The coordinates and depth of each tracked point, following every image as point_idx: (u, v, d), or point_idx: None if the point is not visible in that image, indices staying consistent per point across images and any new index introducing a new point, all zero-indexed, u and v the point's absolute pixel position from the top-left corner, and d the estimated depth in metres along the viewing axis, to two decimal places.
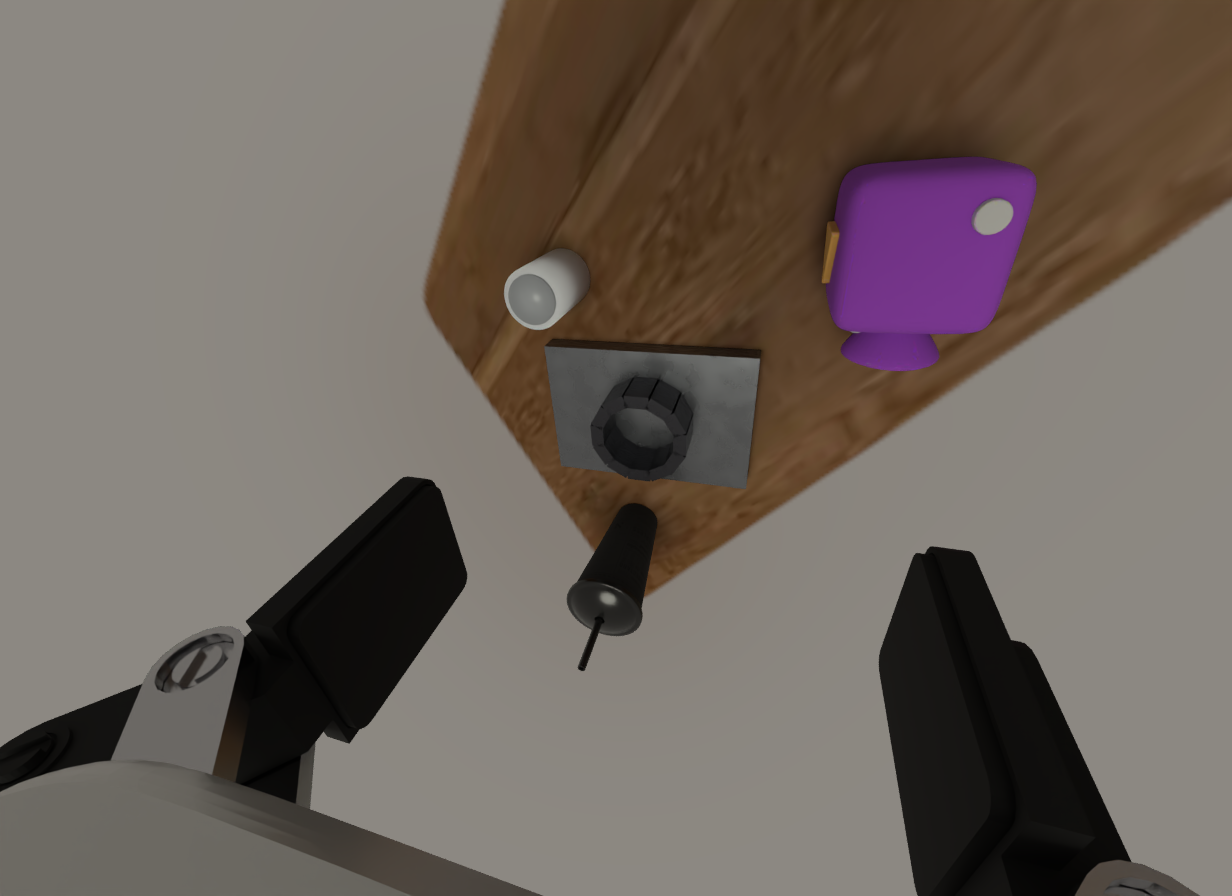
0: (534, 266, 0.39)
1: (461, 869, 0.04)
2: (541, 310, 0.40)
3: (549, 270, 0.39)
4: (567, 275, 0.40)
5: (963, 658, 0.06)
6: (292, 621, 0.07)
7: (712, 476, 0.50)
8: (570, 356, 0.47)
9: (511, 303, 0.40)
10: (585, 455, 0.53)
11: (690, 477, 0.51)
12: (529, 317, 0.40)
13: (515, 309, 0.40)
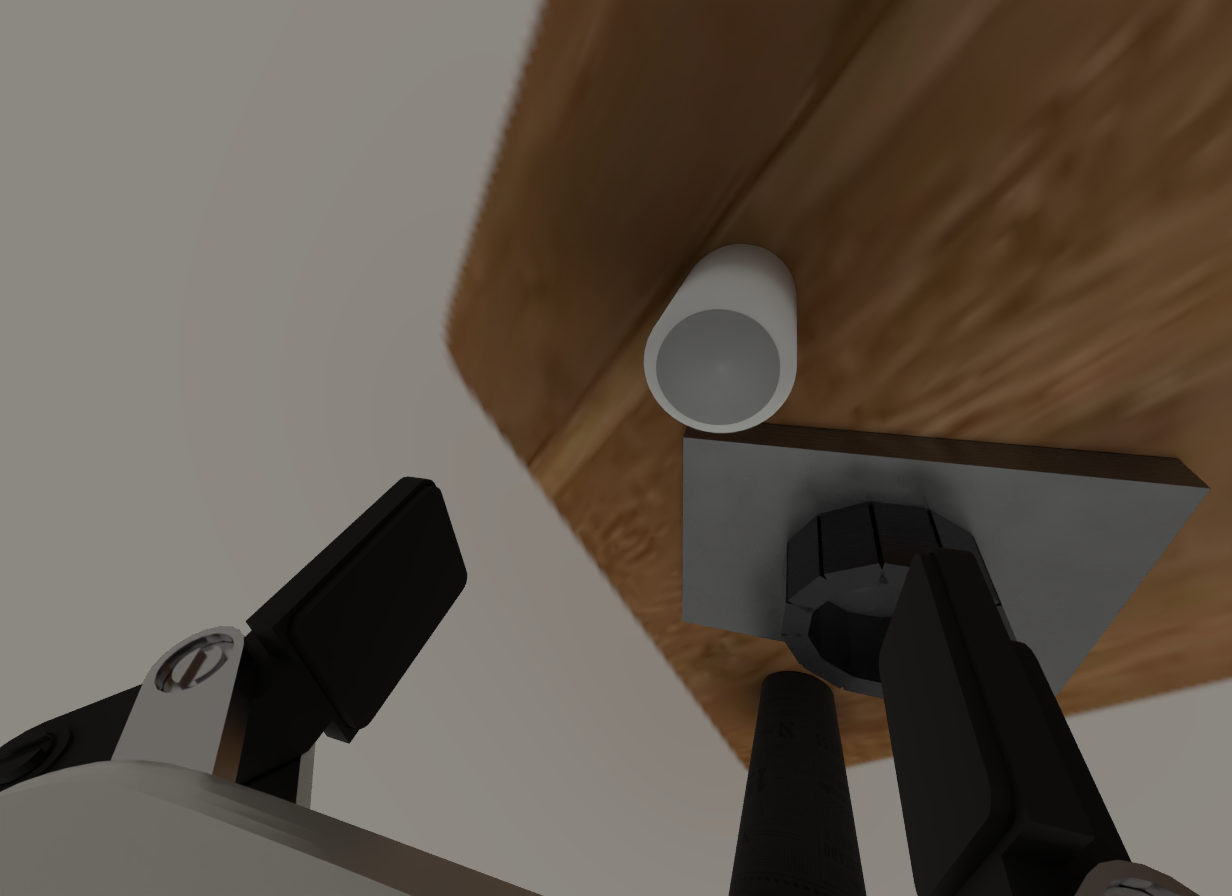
0: (733, 290, 0.15)
1: (461, 867, 0.04)
2: (738, 394, 0.16)
3: (767, 298, 0.16)
4: (790, 307, 0.17)
5: (963, 658, 0.06)
6: (292, 621, 0.07)
7: None
8: (736, 457, 0.24)
9: (661, 376, 0.17)
10: (732, 613, 0.30)
11: None
12: (702, 408, 0.17)
13: (670, 389, 0.17)
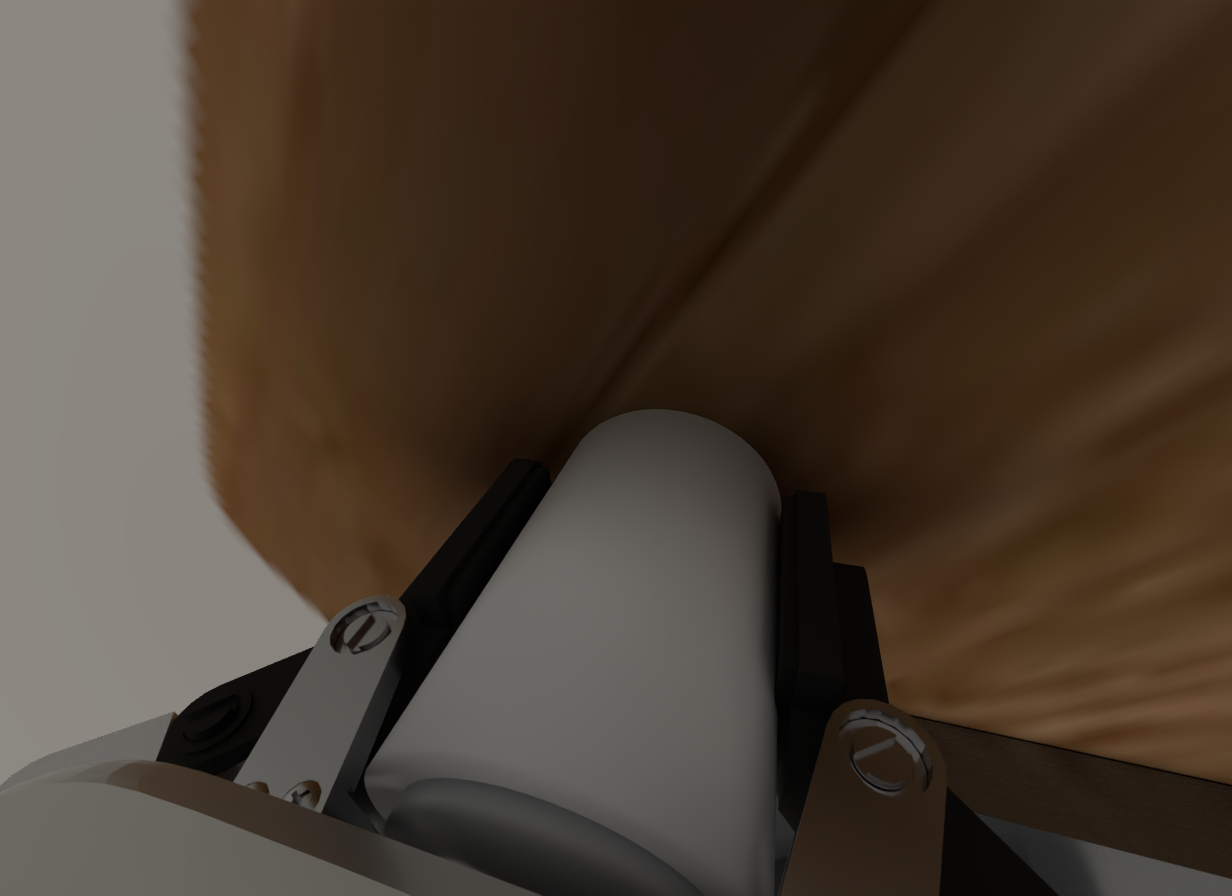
0: (567, 731, 0.05)
1: (462, 867, 0.04)
2: None
3: (683, 732, 0.05)
4: (759, 655, 0.07)
5: (792, 569, 0.08)
6: (449, 590, 0.08)
7: None
8: None
9: None
10: None
11: None
12: None
13: None
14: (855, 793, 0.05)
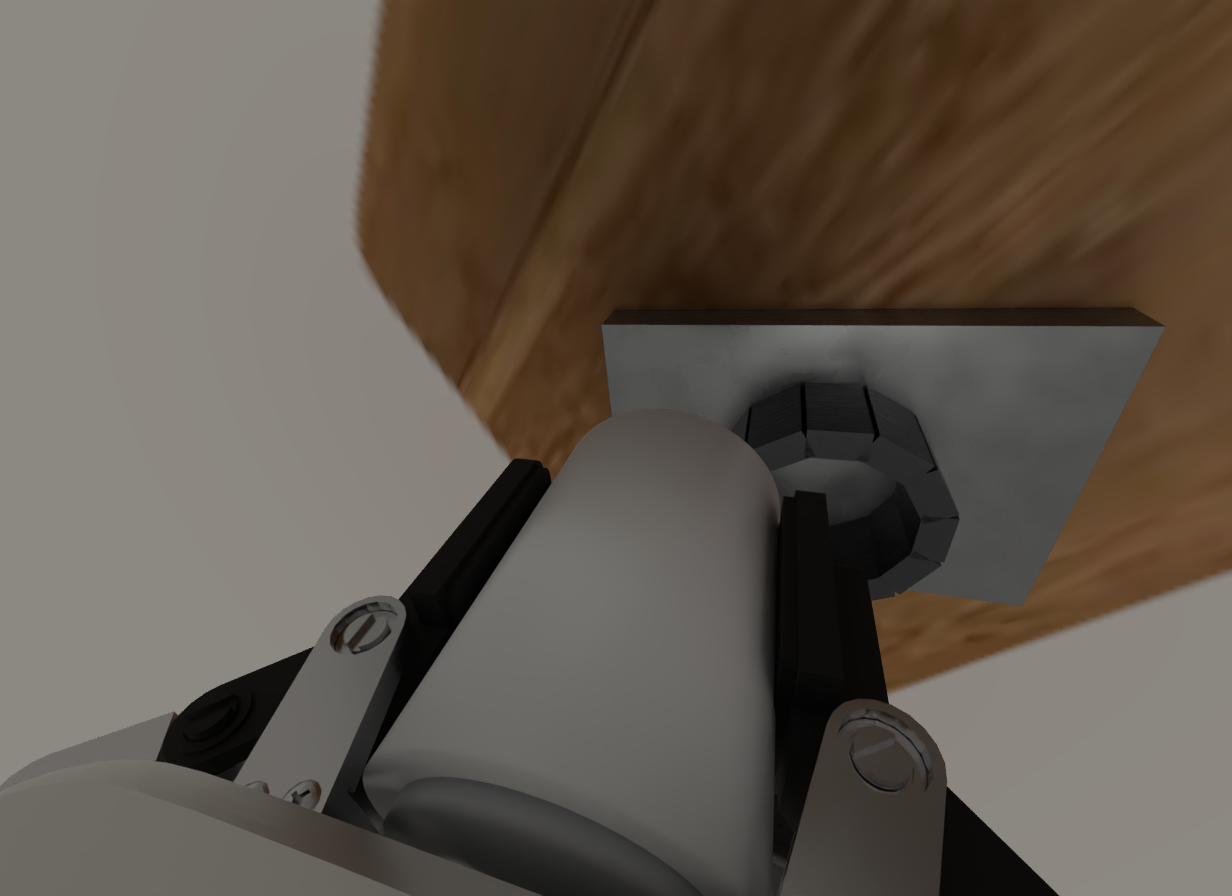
0: (565, 730, 0.05)
1: (461, 867, 0.04)
2: None
3: (680, 731, 0.05)
4: (757, 654, 0.07)
5: (792, 569, 0.08)
6: (449, 590, 0.08)
7: (948, 580, 0.24)
8: (658, 343, 0.22)
9: None
10: None
11: None
12: None
13: None
14: (855, 793, 0.05)
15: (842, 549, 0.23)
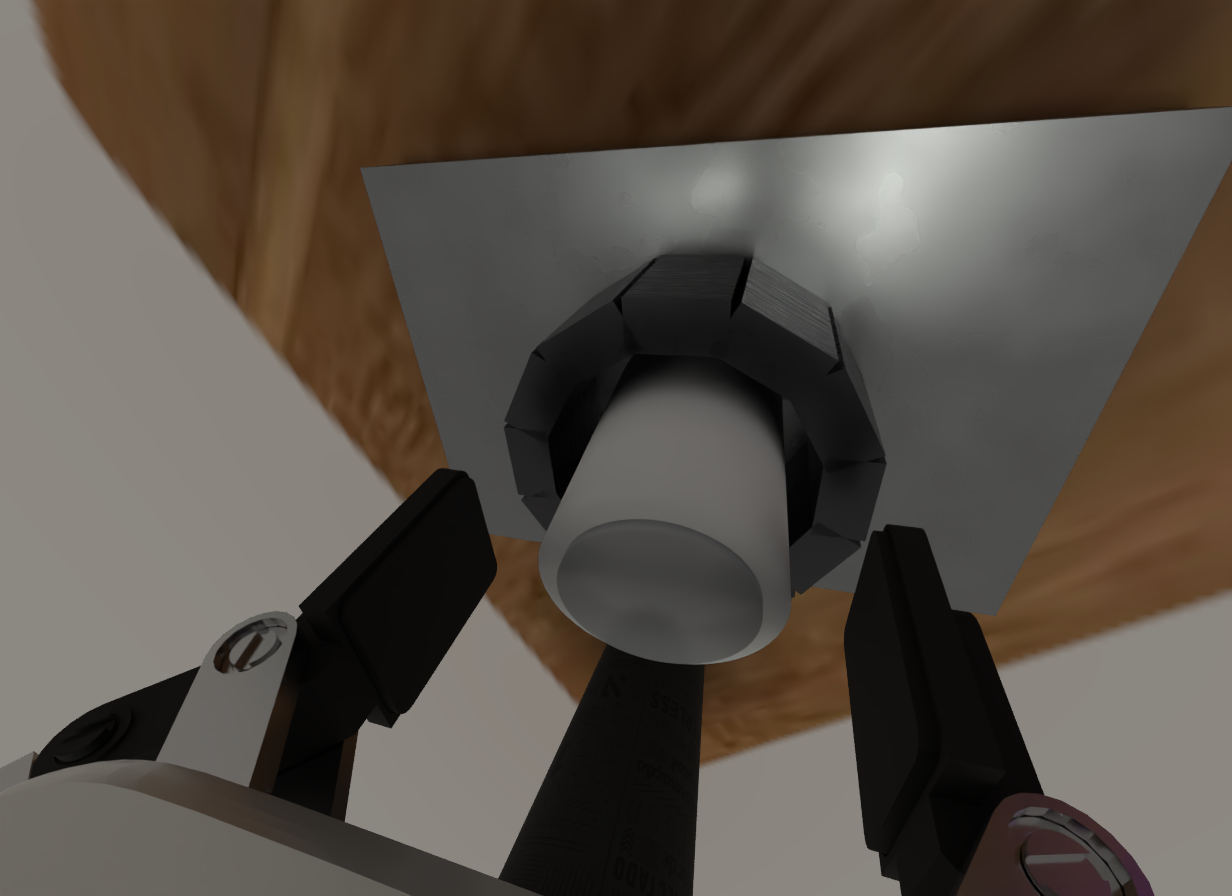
0: (669, 483, 0.09)
1: (461, 869, 0.04)
2: (696, 633, 0.10)
3: (732, 486, 0.09)
4: (773, 465, 0.10)
5: (906, 622, 0.07)
6: (343, 606, 0.08)
7: None
8: (444, 197, 0.14)
9: (570, 602, 0.10)
10: (524, 509, 0.20)
11: None
12: (642, 642, 0.10)
13: (586, 618, 0.10)
14: None
15: None
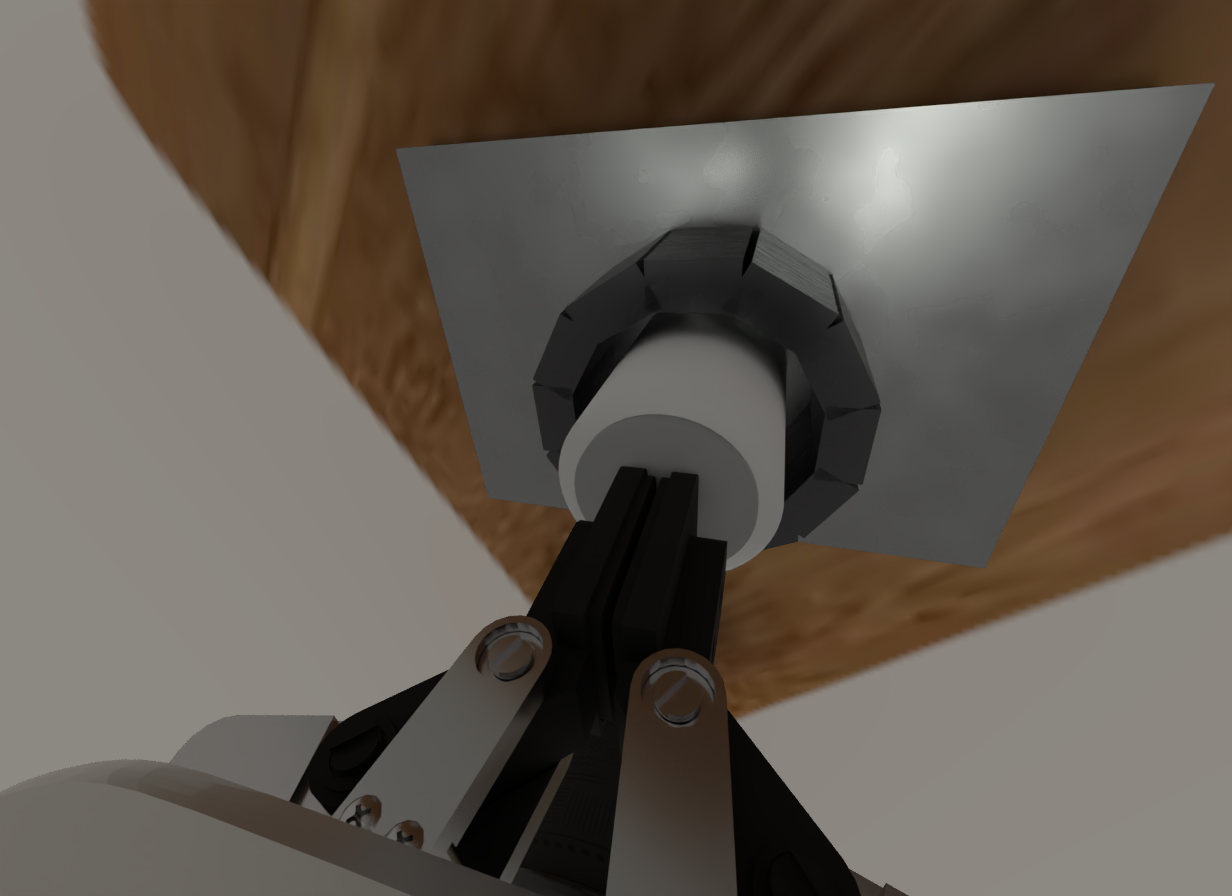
0: (665, 382, 0.10)
1: (462, 867, 0.04)
2: (701, 530, 0.11)
3: (722, 386, 0.10)
4: (767, 384, 0.12)
5: (646, 540, 0.08)
6: (592, 610, 0.07)
7: (886, 532, 0.18)
8: (474, 175, 0.15)
9: (588, 511, 0.11)
10: (542, 475, 0.21)
11: (819, 533, 0.19)
12: None
13: None
14: (660, 736, 0.06)
15: None
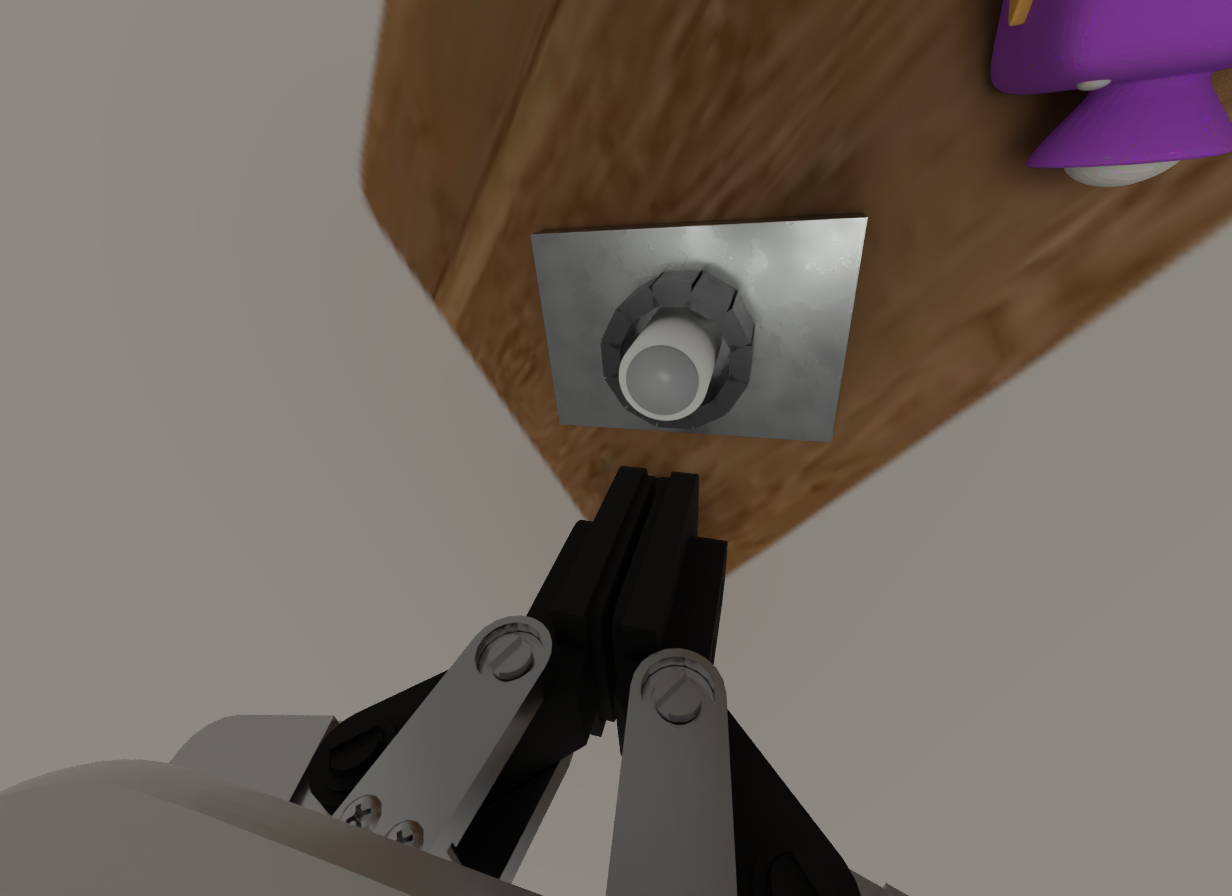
0: (661, 333, 0.26)
1: (460, 867, 0.04)
2: (677, 393, 0.27)
3: (683, 335, 0.26)
4: (704, 337, 0.28)
5: (646, 540, 0.08)
6: (592, 610, 0.07)
7: (780, 425, 0.34)
8: (568, 247, 0.32)
9: (631, 390, 0.28)
10: (593, 406, 0.38)
11: (747, 429, 0.35)
12: (659, 405, 0.28)
13: (637, 397, 0.28)
14: (660, 736, 0.06)
15: None
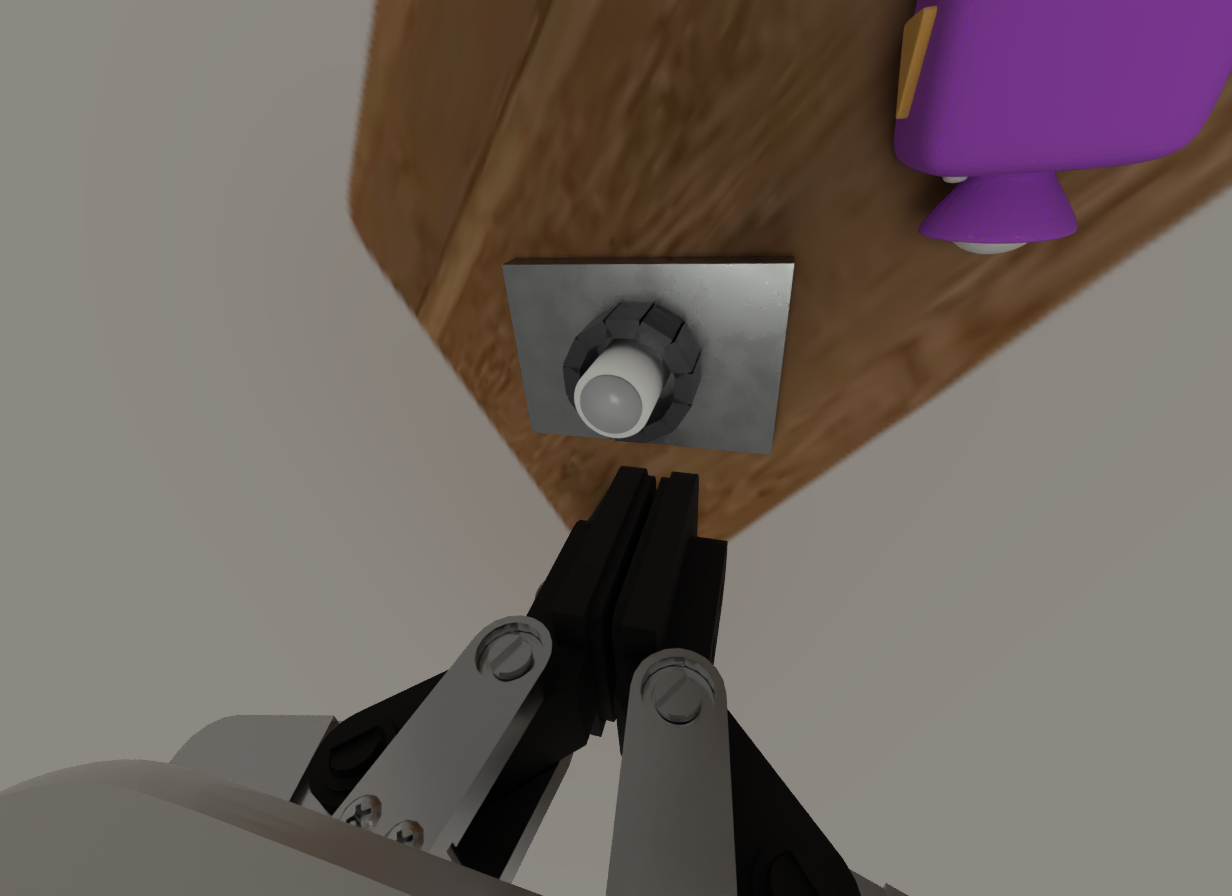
0: (610, 364, 0.30)
1: (461, 867, 0.04)
2: (624, 416, 0.31)
3: (629, 365, 0.30)
4: (650, 366, 0.32)
5: (646, 540, 0.08)
6: (592, 610, 0.07)
7: (726, 439, 0.38)
8: (536, 277, 0.35)
9: (584, 411, 0.32)
10: (562, 417, 0.41)
11: (697, 441, 0.39)
12: (609, 425, 0.32)
13: (590, 417, 0.32)
14: (660, 736, 0.06)
15: (652, 411, 0.36)
